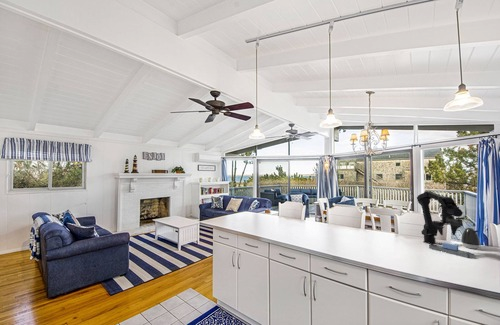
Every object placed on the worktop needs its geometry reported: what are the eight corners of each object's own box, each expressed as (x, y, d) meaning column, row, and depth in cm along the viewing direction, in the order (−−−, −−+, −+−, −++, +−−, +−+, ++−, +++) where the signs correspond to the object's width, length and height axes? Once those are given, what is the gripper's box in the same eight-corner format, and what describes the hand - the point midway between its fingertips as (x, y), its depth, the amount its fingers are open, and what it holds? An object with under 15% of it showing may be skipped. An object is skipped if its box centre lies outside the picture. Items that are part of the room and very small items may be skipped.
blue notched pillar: (442, 251, 160) (442, 243, 160) (444, 250, 162) (443, 242, 162) (457, 254, 153) (456, 246, 153) (458, 253, 155) (458, 245, 155)
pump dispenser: (475, 250, 161) (473, 229, 162) (458, 246, 171) (457, 226, 172) (484, 249, 164) (483, 229, 165) (467, 245, 174) (466, 225, 175)
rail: (428, 248, 166) (428, 245, 166) (431, 247, 169) (431, 243, 169) (471, 258, 145) (471, 255, 146) (474, 257, 148) (474, 253, 149)
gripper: (444, 216, 154) (445, 238, 153) (470, 216, 154) (471, 238, 154) (431, 213, 165) (431, 234, 164) (454, 213, 165) (455, 233, 165)
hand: (447, 235), depth 161 cm, fingers open, 9 cm apart
